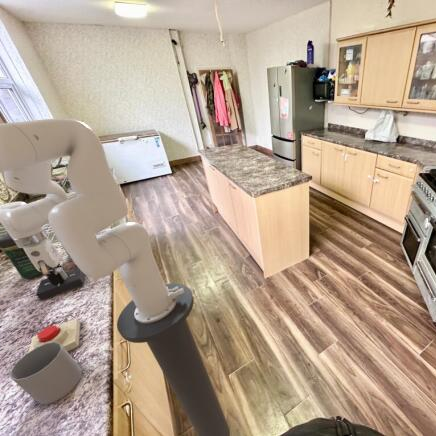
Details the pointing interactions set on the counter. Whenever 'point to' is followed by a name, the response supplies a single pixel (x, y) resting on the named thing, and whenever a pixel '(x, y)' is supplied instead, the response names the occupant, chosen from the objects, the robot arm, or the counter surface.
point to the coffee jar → (18, 257)
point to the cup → (46, 373)
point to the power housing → (62, 336)
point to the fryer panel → (60, 284)
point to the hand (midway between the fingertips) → (59, 278)
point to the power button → (48, 333)
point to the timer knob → (61, 272)
